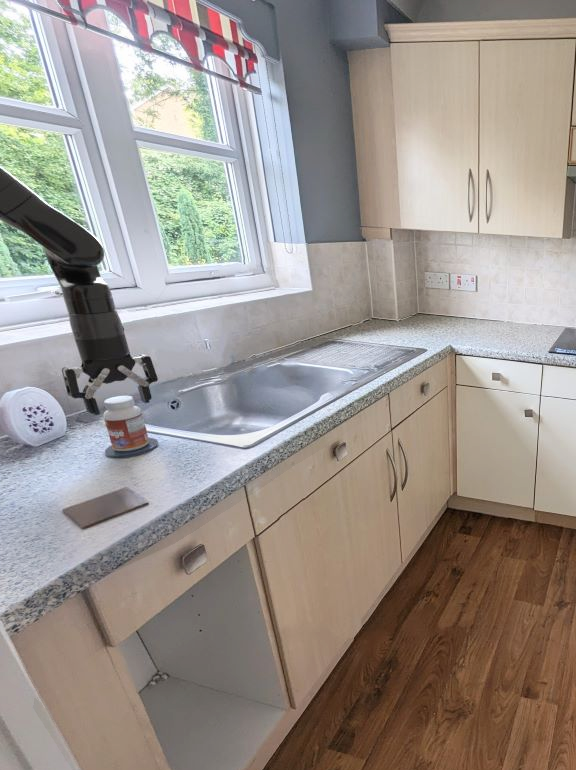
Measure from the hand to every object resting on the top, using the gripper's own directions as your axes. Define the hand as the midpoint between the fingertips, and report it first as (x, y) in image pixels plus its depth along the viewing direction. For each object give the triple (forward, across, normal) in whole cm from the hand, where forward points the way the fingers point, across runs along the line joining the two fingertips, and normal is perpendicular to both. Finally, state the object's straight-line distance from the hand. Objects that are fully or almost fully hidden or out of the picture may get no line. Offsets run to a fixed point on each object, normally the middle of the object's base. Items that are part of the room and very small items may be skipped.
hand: (121, 408), depth 97 cm
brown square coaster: (+10, +12, +23) cm, 28 cm away
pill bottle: (+9, 0, 0) cm, 9 cm away
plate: (+10, 0, 0) cm, 10 cm away
